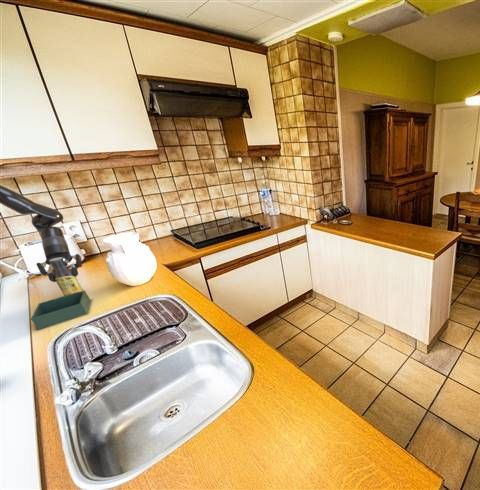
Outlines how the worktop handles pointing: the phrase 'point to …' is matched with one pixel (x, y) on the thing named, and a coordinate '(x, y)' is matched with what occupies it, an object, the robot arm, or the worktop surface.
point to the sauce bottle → (65, 277)
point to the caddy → (60, 309)
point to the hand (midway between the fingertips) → (64, 278)
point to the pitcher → (129, 259)
